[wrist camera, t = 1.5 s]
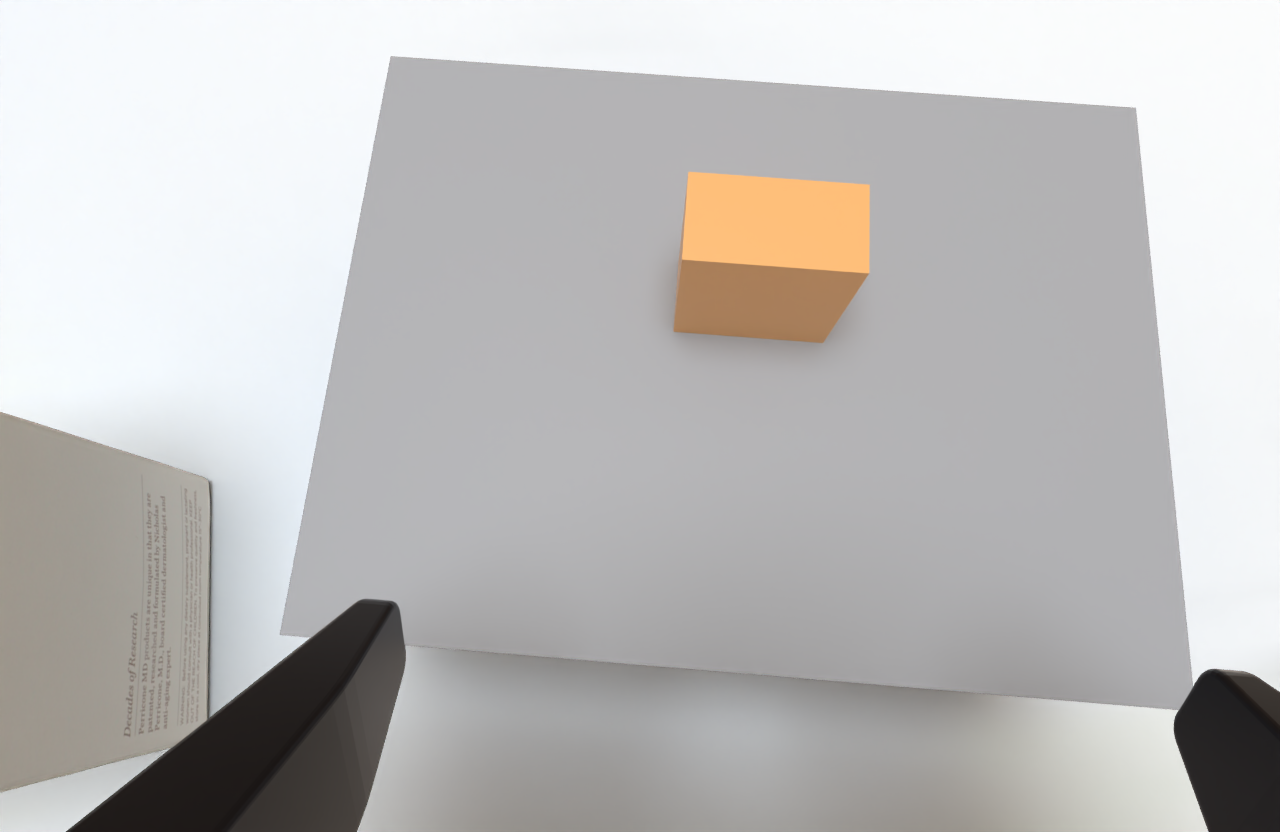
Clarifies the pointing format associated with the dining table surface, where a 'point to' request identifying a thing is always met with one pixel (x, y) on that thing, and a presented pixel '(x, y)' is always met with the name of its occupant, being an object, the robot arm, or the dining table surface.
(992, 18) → the dining table surface
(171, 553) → the supplement box
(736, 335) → the lid
